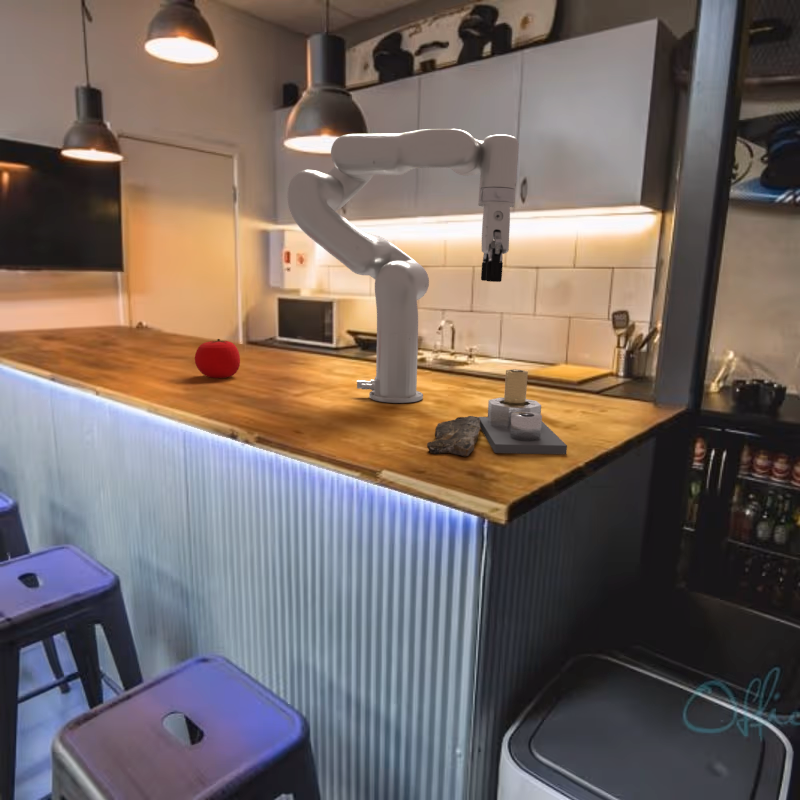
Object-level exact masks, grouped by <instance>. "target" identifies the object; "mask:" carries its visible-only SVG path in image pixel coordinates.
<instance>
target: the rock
mask: <svg viewBox="0 0 800 800" xmlns="http://www.w3.org/2000/svg"><path fill="white" fill-rule="evenodd" d="M479 417H480V416H473V415H468V416H459V417H456V418H454V419H452V420H447V421H442V422H438V423H437V424H436V425H437V426H435V433H434V437H435V440H433V441H428V442H427V443H426V447H427V449H428V451H429V453H430V454H431V455H438V454H439V455H440V454H452V455H455V456H462V457H468V456H470V455H471V453H472V452H473V451H475V445H476V443H477V441H478V438H479V434H480V431H481V428H480V424H479V423H480V418H479Z"/></svg>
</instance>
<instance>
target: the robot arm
mask: <svg viewBox="0 0 800 800" xmlns="http://www.w3.org/2000/svg"><path fill="white" fill-rule="evenodd" d="M330 156H331V161H332V163H333V165H334V167H333V168H332V169H331V170H329V171H328V173H325V172H321V171H319V170H314V169H303V170H300V171H298V172H297V173H295V174H294V175H293V176H292V177H291V179H290V181H289V183H288V187H287V196H286V197H287V206H288V209H289V212H290V215H291V216H292V218H293V220H294V222H295V224H296V225H297V226H298V227H299V229H301V231H302V232H303V233H304V234H305V235H307V236H308V238H310V239H311V240H313V242H315V243H316V244H318V245H319V246H320V247H321V248H323V249H324V250H325V251H326V252H327V253H329V254H330V255H331V256H332V257H333V258H335V259H336V260H338V261H339V262H340V263H342V264H343V266H345V267H346V268H347V269H349V270H350V271H351V272H353V273H355V274H356V275H361V276H368V277H369V276H370V277H371V278H372V279H373V280H374V294H375V295H374V296H375V305H376V364H375V365H376V369H375V371H376V375H375V376H374V379H370V380H359V379H358V380H356V389H361V390H370V392H369V395H368V396H369V399H371V400H373V401H376V402H382V403H390V404H392V403H393V404H405V403H406V404H407V403H416V402H419V401H422V400H423V399H424V394H423V393H422V392H420V391H418V390H417V386H418V385H417V383H418V382H417V379H418V349H419V311H418V310H419V309H418V301H419V300H420V299H422V298H423V297H424V296H426V293H427V291H428V290H429V286H430V279H429V275H428V273H427V270H426V269H425V268H424V267H423V266H422V264H420V263H418V262H417V261H416V260H415V259H413V258H412V257H411V256H409V255H408V254H407V253H405V252H404V251H403V250H401V249H400V248H399V247H397V246H396V245H395V244H393V243H392V242H390V241H389V240H388V239H386V238H384V237H382V236H380V235H376V234H372V233H367V232H365V231H363V230H361V228H358V227H357V226H356V225H355V224H353V223H351V222H350V221H349V220H348V219H347V218H346V217H344V216H343V215H341V214H340V213H338V212H337V211H338V210H340V209H341V208H343V207H344V206H345V205H346V204H347V203H348V202H350V200H352V198H354V197H355V196H356V195H357V194H358V193H359V192H360V191H361V190H362V189H363V188H364V187H365V186H366V185H367V184H368V183H369V182H370V181H371V179H373V178H374V176H403V175H405V174H407V173H408V172H409V171H411V170H414V169H415V170H416V169H423V168H428V169H429V168H430V169H431V168H433V169H435V168H437V169H438V168H439V169H451V170H452V171H453V172H455V173H456V174H457V175H460V176H463V177H464V176H465V177H466V176H467V177H468V176H474V175H479V190H478V204H477V206H478V207H483V209H482V210H483V211H482V226H481V227H482V228H481V252H482V253H483V256H482V262H481V273H480V276H481V277H480V281H481V282H483V281H484V282H485V281H486V282H489V283H490V282H493V283H500V282H502V280H503V279H502V278H503V277H502V276H503V264H504V262H503V255H505V254H507V253H508V252H509V248H510V228H511V227H510V226H511V223H510V221H511V208H513V207H514V208H515V197H516V183H517V171H518V158H519V140H518V139H517V138H516V136H512V135H509V134H493V135H488V136H486V137H485V138H483V140H479V139H476V138H474V136H473V135H471V133H469V132H468V131H466V130H462V129H458V128H427V129H416V130H412V131H405V132H400V133H399V132H398V133H348V134H343V135H340V136H338V137H337V138H336V139H335V140H334V141H333V143H332V145H331V150H330Z"/></svg>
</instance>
